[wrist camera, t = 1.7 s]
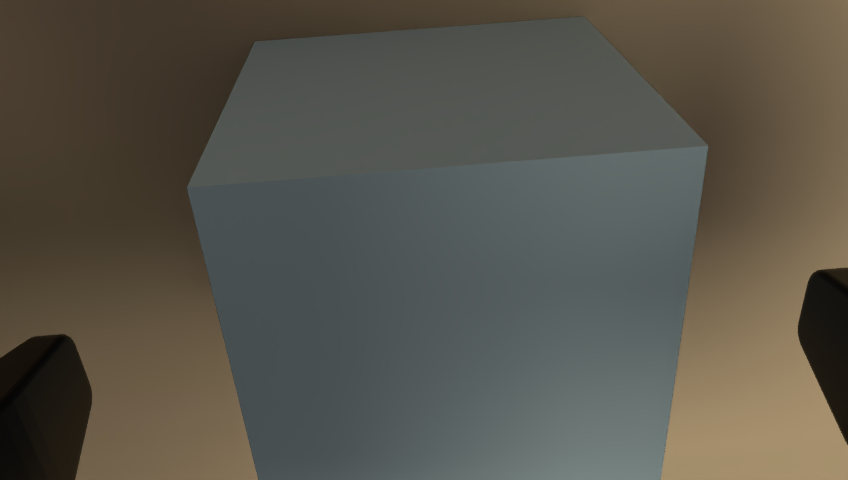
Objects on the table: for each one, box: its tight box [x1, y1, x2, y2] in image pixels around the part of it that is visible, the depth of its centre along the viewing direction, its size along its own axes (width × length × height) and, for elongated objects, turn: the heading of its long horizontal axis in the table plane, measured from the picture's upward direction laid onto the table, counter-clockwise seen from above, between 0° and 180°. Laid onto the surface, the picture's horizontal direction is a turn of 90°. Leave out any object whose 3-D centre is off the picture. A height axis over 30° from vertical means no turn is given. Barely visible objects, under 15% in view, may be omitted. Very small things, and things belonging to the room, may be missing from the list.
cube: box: [187, 16, 708, 480], centre depth 11 cm, size 5×5×5 cm
